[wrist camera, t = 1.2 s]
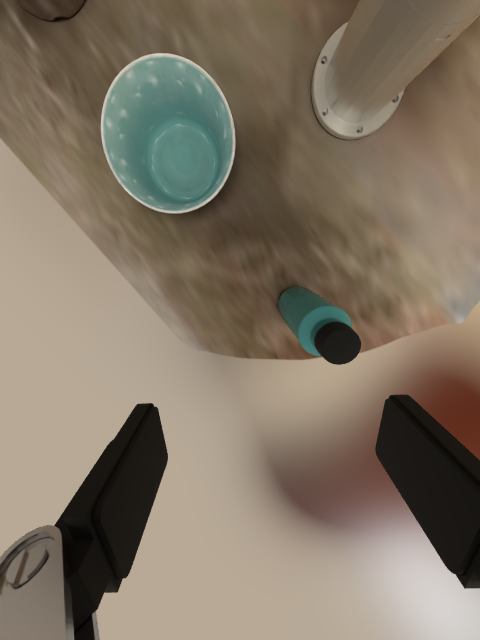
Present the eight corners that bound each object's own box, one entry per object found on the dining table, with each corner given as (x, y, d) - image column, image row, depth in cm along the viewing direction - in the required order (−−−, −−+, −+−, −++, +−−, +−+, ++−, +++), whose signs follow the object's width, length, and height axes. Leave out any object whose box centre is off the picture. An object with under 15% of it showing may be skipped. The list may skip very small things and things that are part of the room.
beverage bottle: (271, 313, 41) (298, 370, 22) (282, 278, 39) (323, 308, 20) (304, 322, 41) (358, 385, 22) (317, 288, 39) (389, 326, 20)
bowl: (112, 132, 32) (71, 95, 24) (208, 77, 30) (197, 18, 23) (164, 237, 37) (144, 234, 29) (252, 195, 35) (255, 179, 27)
